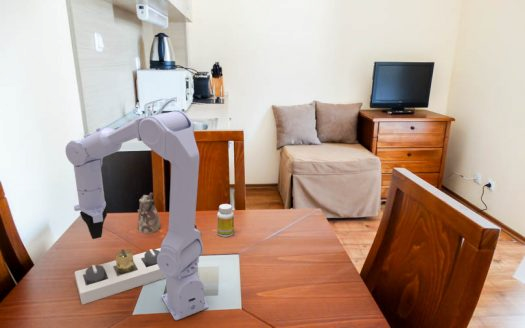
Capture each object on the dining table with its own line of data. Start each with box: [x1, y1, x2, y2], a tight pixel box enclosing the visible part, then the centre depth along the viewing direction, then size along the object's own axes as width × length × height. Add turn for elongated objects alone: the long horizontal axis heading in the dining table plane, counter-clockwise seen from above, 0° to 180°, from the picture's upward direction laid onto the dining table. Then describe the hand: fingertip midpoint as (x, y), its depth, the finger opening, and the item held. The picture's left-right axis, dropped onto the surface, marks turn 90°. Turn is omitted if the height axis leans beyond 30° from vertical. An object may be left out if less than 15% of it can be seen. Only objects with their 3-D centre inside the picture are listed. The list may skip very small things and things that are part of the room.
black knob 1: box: [86, 264, 106, 285], centre depth 85 cm, size 4×4×5 cm
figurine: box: [137, 192, 161, 235], centre depth 114 cm, size 7×7×12 cm
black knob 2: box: [145, 248, 160, 267], centre depth 93 cm, size 4×4×5 cm
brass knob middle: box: [114, 248, 134, 275], centre depth 89 cm, size 4×4×5 cm
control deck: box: [74, 247, 166, 305], centre depth 90 cm, size 10×22×3 cm, turn 124°
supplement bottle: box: [216, 203, 235, 238], centre depth 113 cm, size 5×5×10 cm
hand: (96, 237), depth 89 cm, fingers closed
